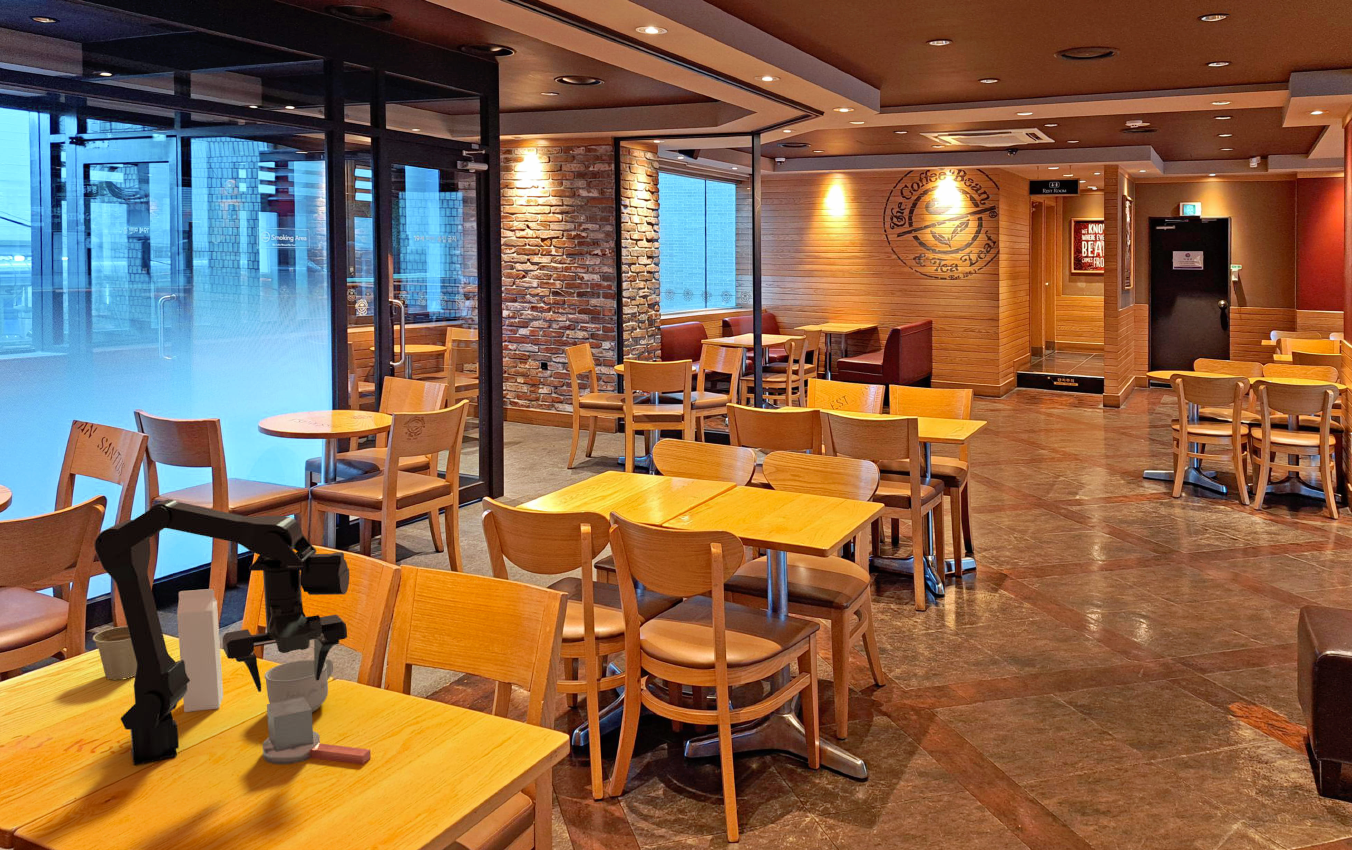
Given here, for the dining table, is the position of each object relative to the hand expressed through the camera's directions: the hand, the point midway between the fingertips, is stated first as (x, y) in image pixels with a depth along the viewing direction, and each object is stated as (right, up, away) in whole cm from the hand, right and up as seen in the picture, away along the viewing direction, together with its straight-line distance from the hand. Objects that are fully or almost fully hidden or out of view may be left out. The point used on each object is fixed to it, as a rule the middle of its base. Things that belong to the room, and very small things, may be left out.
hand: (288, 685), depth 178 cm
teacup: (-4, -9, +20) cm, 22 cm away
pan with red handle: (+4, -12, +1) cm, 13 cm away
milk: (-24, -9, +21) cm, 33 cm away
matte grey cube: (0, -10, +1) cm, 10 cm away
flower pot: (-46, -7, +36) cm, 59 cm away
